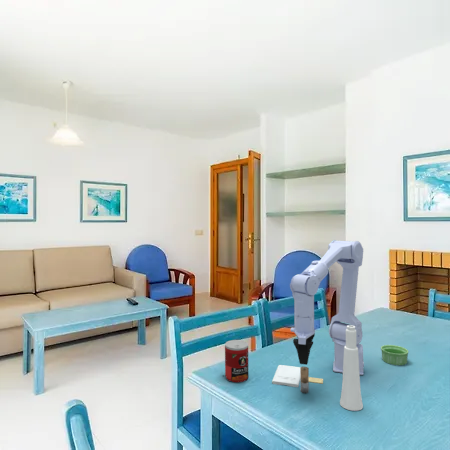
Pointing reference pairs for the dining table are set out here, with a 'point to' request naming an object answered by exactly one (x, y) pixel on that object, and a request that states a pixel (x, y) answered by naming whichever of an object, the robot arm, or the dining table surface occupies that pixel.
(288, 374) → the external hard drive
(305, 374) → the photo-textured cylinder
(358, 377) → the cosmetic bottle
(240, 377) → the canned food
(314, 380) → the plate
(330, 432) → the dining table surface
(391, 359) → the ramekin
